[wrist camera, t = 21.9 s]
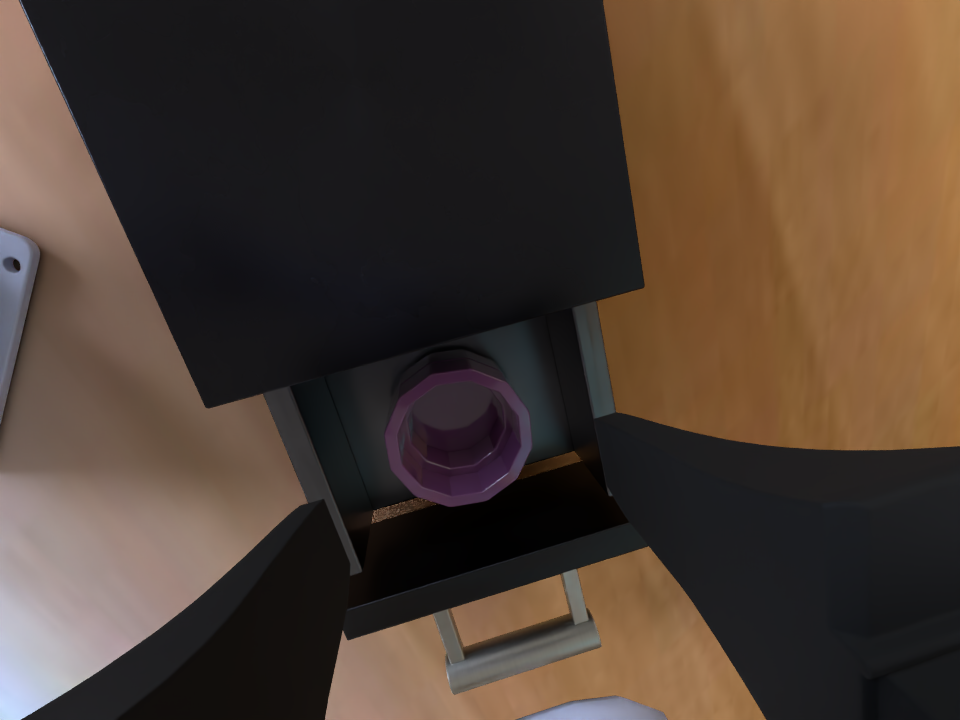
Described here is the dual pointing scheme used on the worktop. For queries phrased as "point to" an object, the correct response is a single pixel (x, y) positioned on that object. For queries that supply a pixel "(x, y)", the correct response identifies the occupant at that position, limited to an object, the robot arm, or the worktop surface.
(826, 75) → the worktop surface
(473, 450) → the purple cup
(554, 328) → the drawer
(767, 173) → the worktop surface
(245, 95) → the cabinet
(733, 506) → the robot arm
